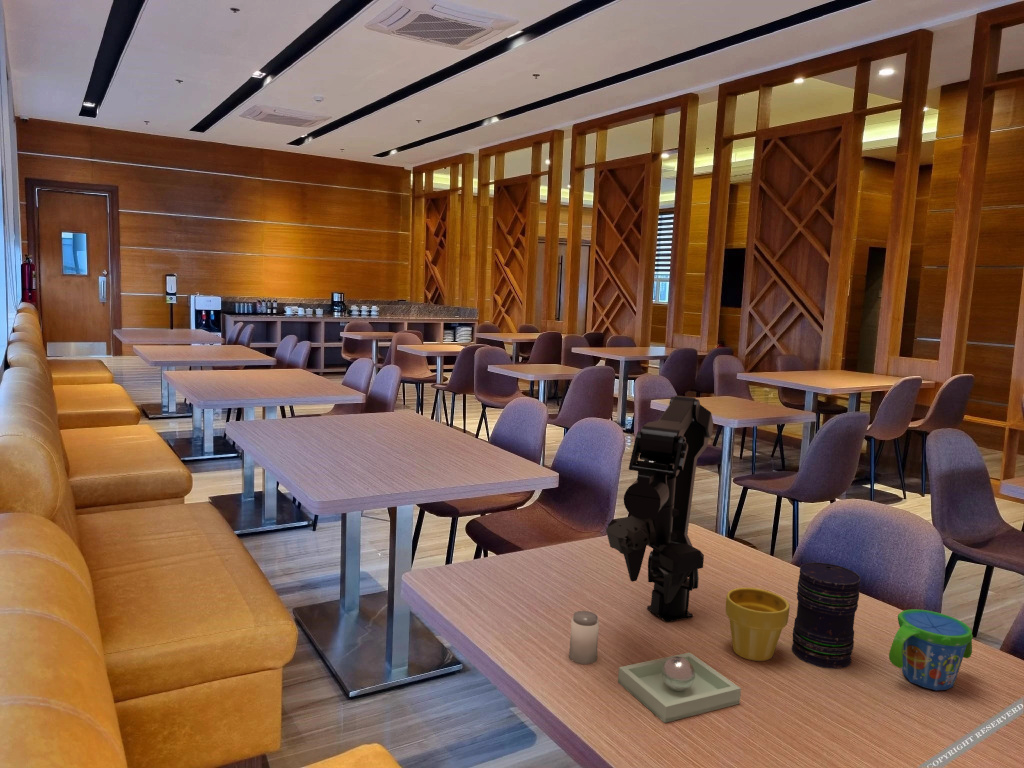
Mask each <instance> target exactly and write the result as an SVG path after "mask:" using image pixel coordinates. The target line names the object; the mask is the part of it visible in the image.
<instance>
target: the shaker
mask: <svg viewBox="0 0 1024 768" xmlns="http://www.w3.org/2000/svg"><path fill="white" fill-rule="evenodd" d="M599 627H600V620H599V619H598V615H597V614H596V613H594V612H592V611H589V610H578V611H575V612H574V613H573V616H572V617H571V620H570V638H569V639H570V640H569V655H568V657H569V660H571V661H572V660H573V661H572V662H574V661H575V662H574V663H576V662H577V664H579V665H580V664H581V665H591V664H593V662H594V663H596V661H597V658H598V646H599V645H598V643H599ZM590 663H591V664H590Z"/></svg>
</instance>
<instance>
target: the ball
mask: <svg viewBox="0 0 1024 768" xmlns="http://www.w3.org/2000/svg"><path fill="white" fill-rule="evenodd" d="M662 677H663V680H664V682H665V684H666V685H667V686H668V687H669V688H671V689H672V690H675V691H685V690H687V689H689V688H690V687H691V686H692V684H693V682H694V680H695V671H694V668H693V666H692V664H691V663H690V662H689V661H688V660H687V659H685V658H682V657H672V658H670V659H668V660H667V661H666V662H665V664H664V665H663V668H662Z"/></svg>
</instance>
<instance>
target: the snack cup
mask: <svg viewBox="0 0 1024 768" xmlns="http://www.w3.org/2000/svg"><path fill="white" fill-rule="evenodd" d="M897 620H898V625H899V628H898V630H897V631H896V633H895V635H894V636H893V637H894V638H893V640H892V642H891V646H890V648H889V653H888V658H889V661H890V663H891V664H892V666H894V667H896V668H899V669H901V670H902V673H903V675H904V677H906V679H907V680H908V681H909V683H912V684H915V685H917V686H919V687H923V688H926V689H930V690H934V691H945V690H949V689H951V688H954V686H955V682H956V679H957V677H958V673H959V671H960V668H961V665H962V662H963V658H964V659H970V658H971V656H972V654H973V638H974V635H973V631H972V629H971V627H970V626H969V625H967V624H966V623H965V622H964V621H961V620H960V619H957V618H955V617H953V616H950V615H946V614H945V613H944V614H943V613H940V612H938V611H937V612H936V611H932V610H926V609H918V608H917V609H914V608H913V609H906V610H902V611H901V612H899V613H898V615H897Z"/></svg>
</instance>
